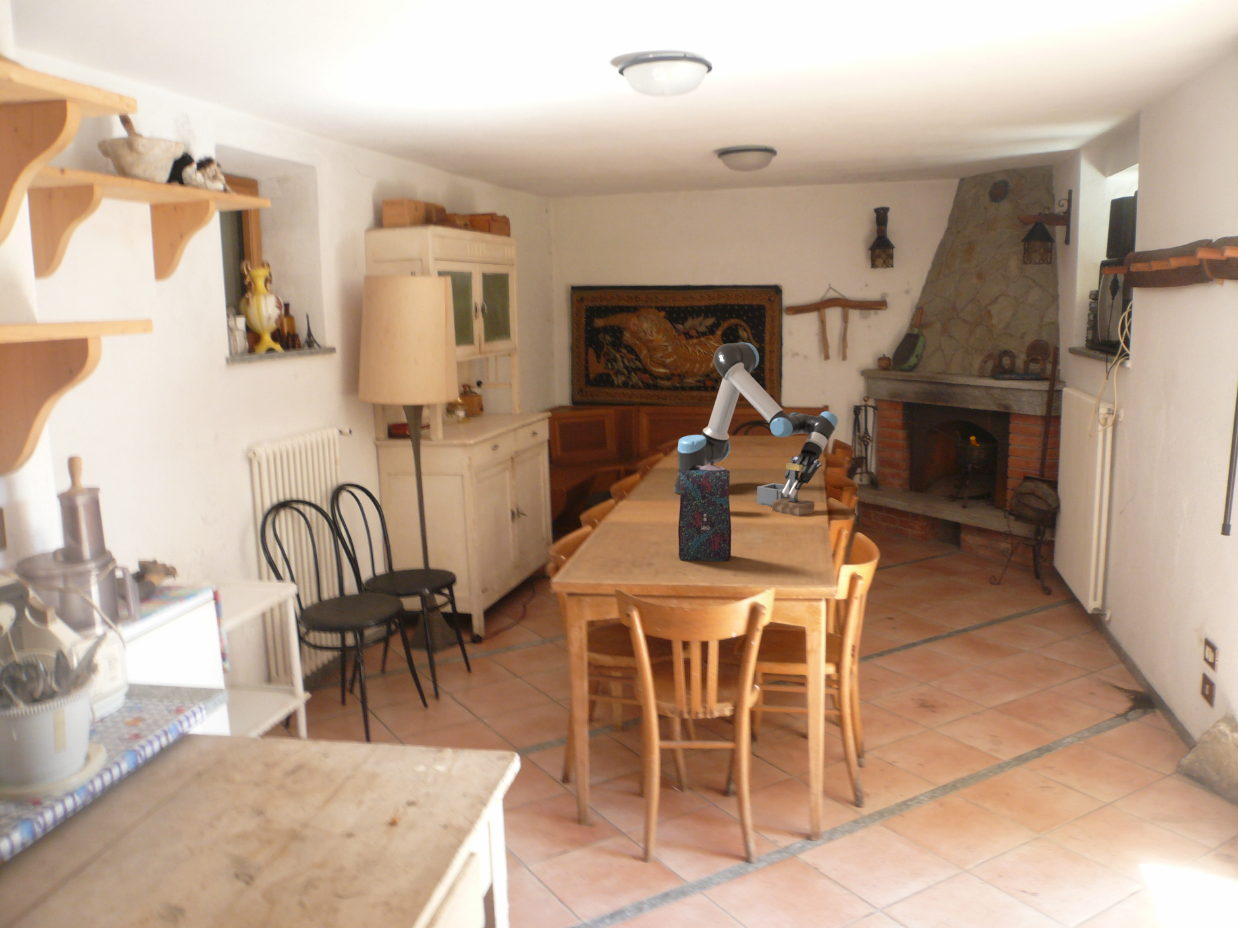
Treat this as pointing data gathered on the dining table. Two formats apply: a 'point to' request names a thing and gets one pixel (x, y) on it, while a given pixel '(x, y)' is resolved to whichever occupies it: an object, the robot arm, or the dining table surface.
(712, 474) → the decorative box
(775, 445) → the dining table surface
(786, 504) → the block
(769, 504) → the grey square box
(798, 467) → the t key
